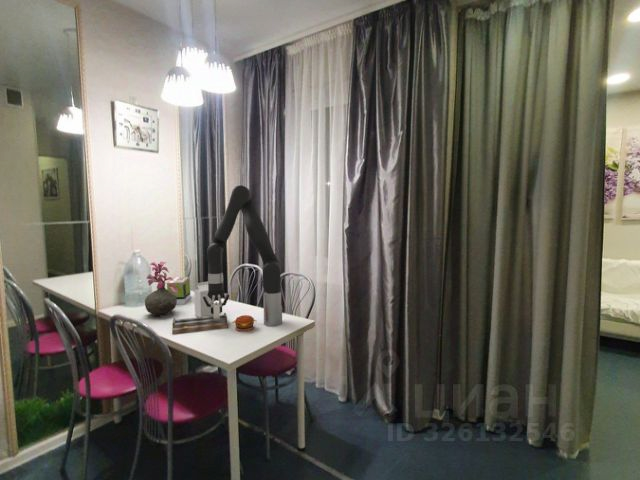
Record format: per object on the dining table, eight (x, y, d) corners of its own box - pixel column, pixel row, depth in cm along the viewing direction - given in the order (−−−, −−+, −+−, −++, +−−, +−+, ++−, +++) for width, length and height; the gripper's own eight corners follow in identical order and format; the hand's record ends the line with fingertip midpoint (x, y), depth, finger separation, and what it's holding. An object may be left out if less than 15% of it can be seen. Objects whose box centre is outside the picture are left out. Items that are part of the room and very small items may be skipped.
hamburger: (231, 330, 166) (230, 317, 165) (244, 324, 174) (244, 312, 174) (244, 333, 161) (244, 320, 160) (258, 327, 169) (258, 315, 169)
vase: (148, 311, 193) (146, 260, 190) (180, 308, 198) (178, 259, 195) (142, 320, 177) (140, 265, 174) (177, 317, 183) (175, 264, 179)
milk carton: (212, 315, 187) (212, 282, 185) (201, 318, 182) (200, 284, 180) (206, 312, 192) (205, 280, 190) (194, 315, 187) (193, 282, 185)
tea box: (175, 298, 219) (174, 276, 217) (191, 298, 220) (190, 276, 218) (167, 305, 204) (166, 282, 202) (184, 305, 205) (183, 281, 204)
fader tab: (219, 318, 176) (219, 301, 175) (219, 321, 172) (219, 304, 171) (213, 319, 175) (213, 302, 174) (213, 322, 171) (213, 304, 170)
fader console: (225, 318, 182) (225, 310, 181) (227, 327, 169) (227, 319, 168) (174, 324, 173) (173, 315, 172) (172, 334, 160) (171, 325, 159)
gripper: (229, 278, 177) (229, 310, 179) (201, 280, 172) (202, 312, 174) (230, 282, 170) (231, 314, 172) (201, 284, 165) (202, 317, 167)
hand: (216, 313), depth 173 cm, fingers closed on fader tab, 3 cm apart
